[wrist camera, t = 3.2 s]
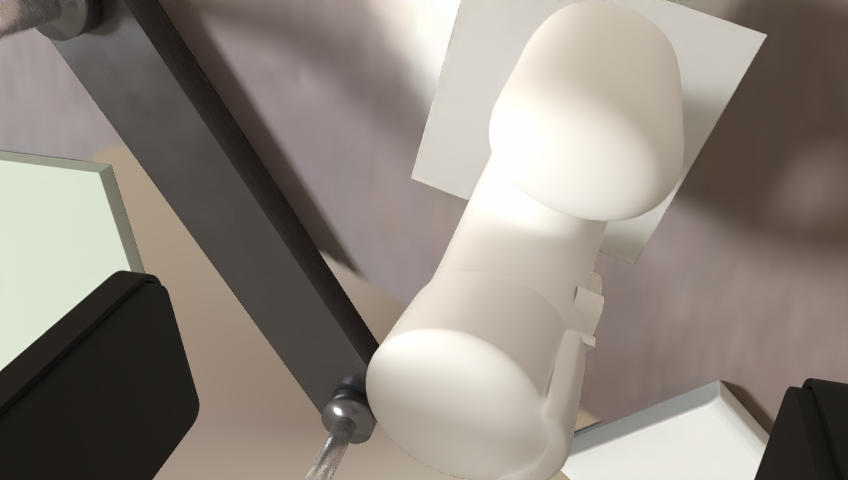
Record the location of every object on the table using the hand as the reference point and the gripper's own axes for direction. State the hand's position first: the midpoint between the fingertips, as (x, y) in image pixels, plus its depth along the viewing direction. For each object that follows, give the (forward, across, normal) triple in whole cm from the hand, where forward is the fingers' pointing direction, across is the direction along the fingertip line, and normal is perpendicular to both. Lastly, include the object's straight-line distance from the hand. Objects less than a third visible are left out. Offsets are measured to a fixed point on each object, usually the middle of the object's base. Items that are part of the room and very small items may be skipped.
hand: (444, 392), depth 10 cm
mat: (+15, +25, +12) cm, 32 cm away
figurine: (+14, -1, 0) cm, 14 cm away
